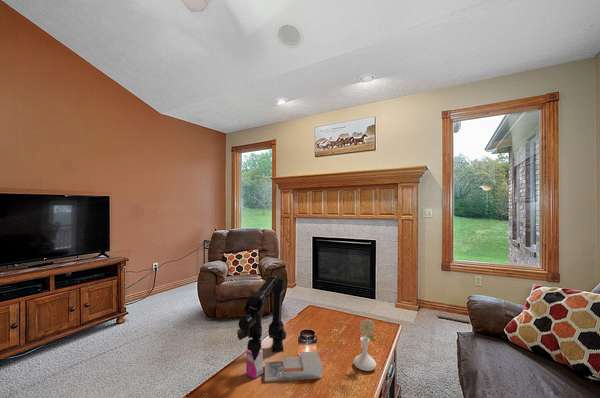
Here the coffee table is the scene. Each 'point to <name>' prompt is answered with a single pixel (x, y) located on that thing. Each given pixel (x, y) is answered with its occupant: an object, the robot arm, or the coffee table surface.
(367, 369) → the flower in vase
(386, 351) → the coffee table surface
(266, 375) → the step stand
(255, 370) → the supplement box
